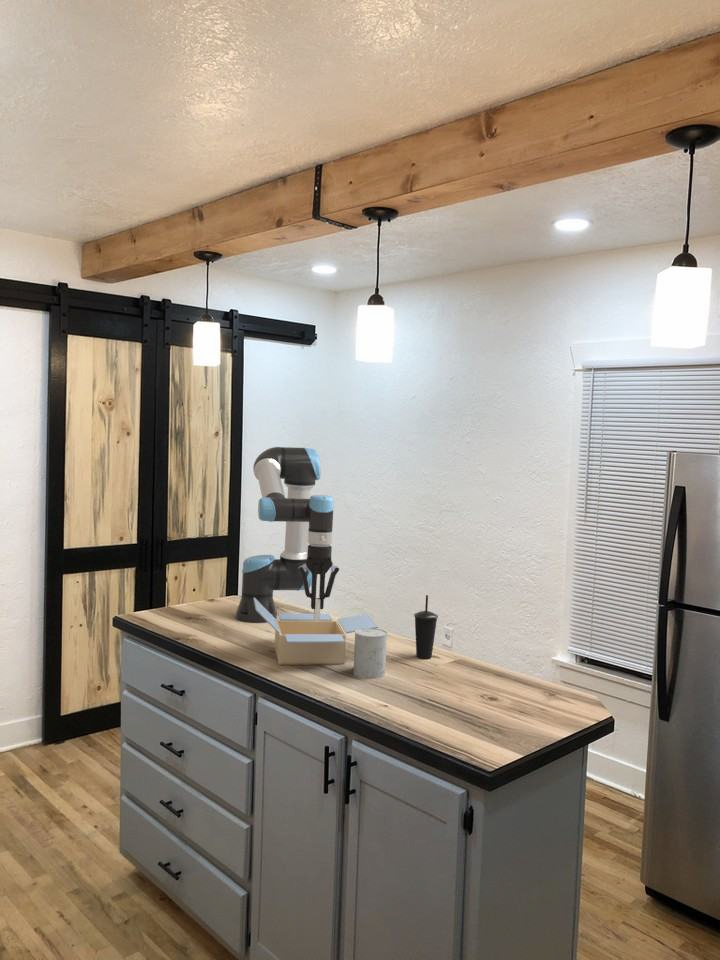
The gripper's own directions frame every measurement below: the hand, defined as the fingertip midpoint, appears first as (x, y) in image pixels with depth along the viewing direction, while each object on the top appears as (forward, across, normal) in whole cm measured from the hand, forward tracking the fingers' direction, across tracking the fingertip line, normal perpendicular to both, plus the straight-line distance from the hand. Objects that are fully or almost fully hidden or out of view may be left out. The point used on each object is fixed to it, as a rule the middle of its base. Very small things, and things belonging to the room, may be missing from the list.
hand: (316, 619), depth 240 cm
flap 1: (-2, -16, 0) cm, 16 cm away
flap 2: (+1, +13, 0) cm, 13 cm away
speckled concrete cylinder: (+12, +14, -18) cm, 26 cm away
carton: (+12, -2, 0) cm, 12 cm away
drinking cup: (+12, +35, -3) cm, 37 cm away
